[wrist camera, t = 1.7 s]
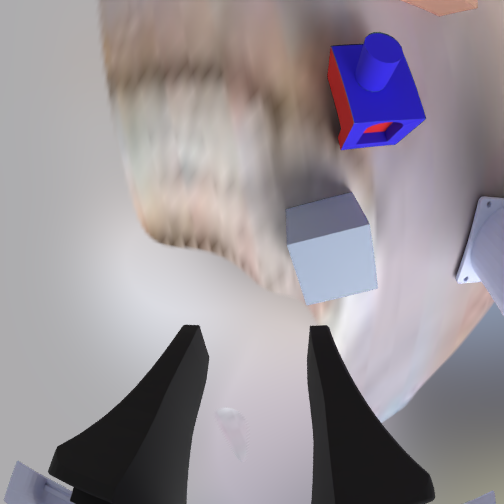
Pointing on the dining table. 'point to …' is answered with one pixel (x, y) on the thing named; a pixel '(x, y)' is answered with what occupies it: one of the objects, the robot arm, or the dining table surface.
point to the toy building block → (373, 92)
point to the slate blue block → (331, 248)
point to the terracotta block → (444, 5)
